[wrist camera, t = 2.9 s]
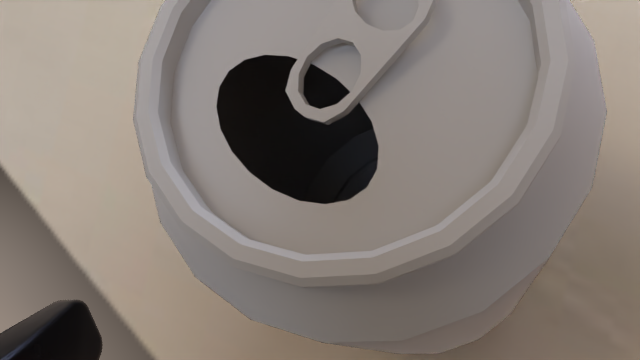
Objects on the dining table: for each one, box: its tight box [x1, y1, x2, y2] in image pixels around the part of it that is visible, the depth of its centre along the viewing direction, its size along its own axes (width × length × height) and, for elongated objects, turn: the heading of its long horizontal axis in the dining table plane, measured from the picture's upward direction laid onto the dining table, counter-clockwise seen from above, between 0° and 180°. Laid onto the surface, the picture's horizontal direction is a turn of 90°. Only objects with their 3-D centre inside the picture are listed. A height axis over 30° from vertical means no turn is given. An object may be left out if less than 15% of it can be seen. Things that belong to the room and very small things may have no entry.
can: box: [133, 0, 607, 354], centre depth 13 cm, size 8×8×12 cm
